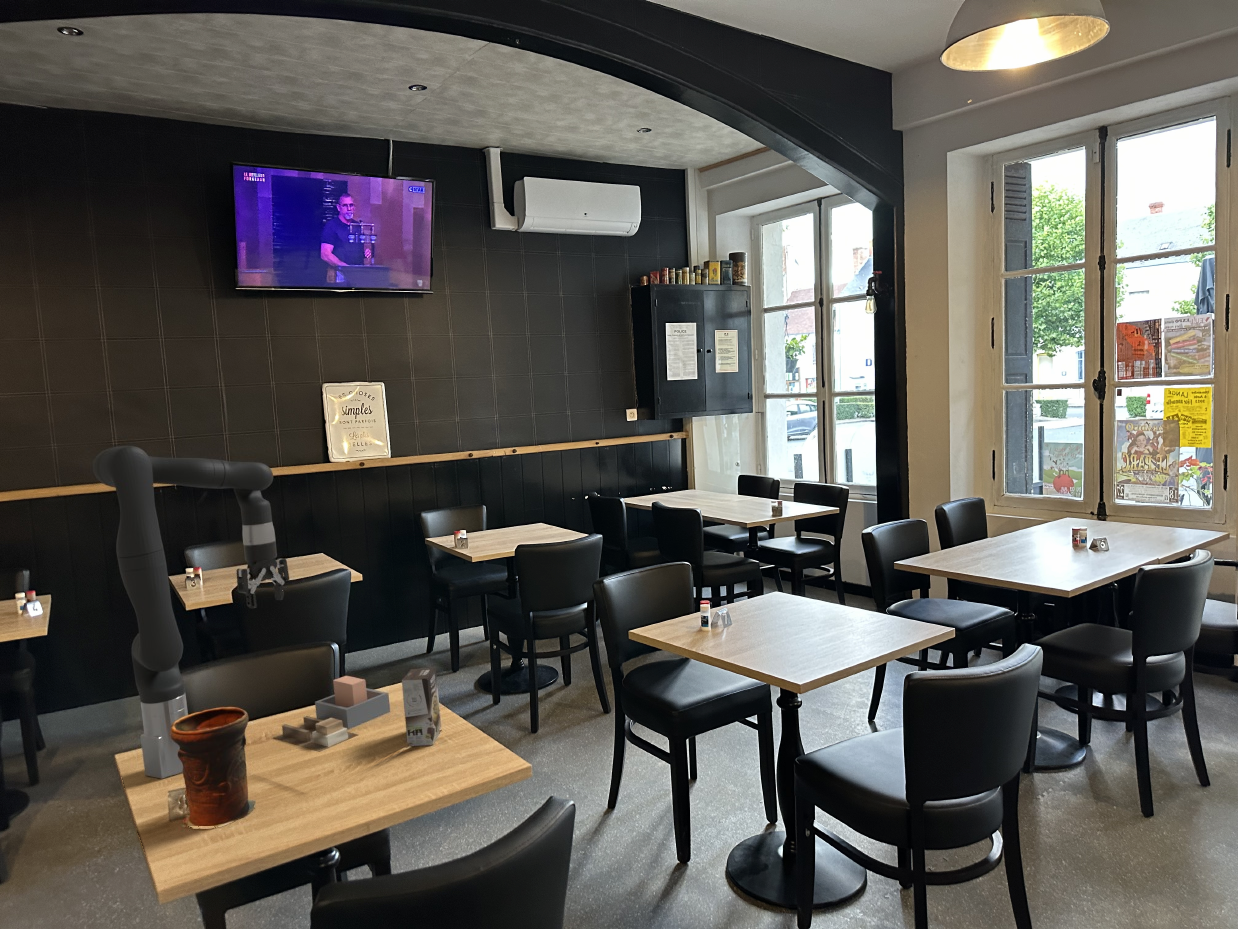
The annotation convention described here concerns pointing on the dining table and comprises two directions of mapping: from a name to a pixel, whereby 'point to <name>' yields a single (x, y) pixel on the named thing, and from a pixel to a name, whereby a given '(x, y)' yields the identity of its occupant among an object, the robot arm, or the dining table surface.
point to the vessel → (214, 765)
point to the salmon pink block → (349, 691)
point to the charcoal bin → (354, 709)
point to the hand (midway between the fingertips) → (266, 603)
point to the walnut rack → (305, 734)
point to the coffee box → (421, 706)
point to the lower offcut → (330, 737)
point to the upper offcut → (329, 726)
